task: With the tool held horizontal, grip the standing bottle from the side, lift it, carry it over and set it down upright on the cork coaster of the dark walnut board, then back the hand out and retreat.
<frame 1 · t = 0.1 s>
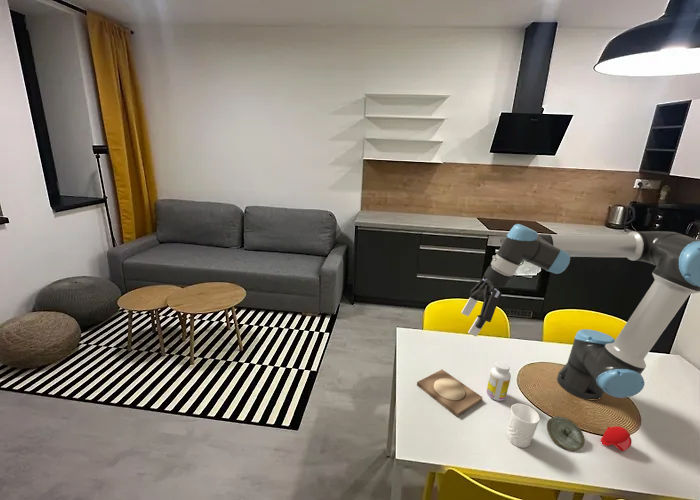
hand: (468, 323, 118), 28 cm above the table, tool tilted 20°, fingers open, 13 cm apart
lid: (563, 439, 110), on the table
walnut board: (448, 392, 126), on the table
white cup: (517, 439, 108), on the table
supplement bottle: (495, 395, 126), on the table
cap: (613, 445, 109), on the table
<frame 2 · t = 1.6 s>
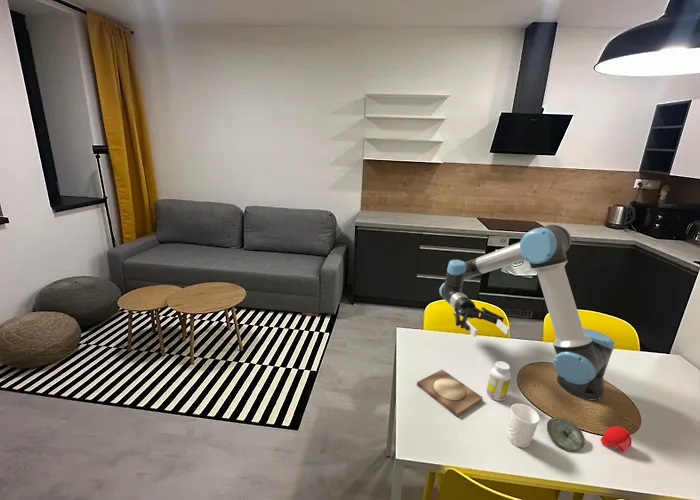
hand: (492, 332, 128), 20 cm above the table, tool horizontal, fingers open, 13 cm apart
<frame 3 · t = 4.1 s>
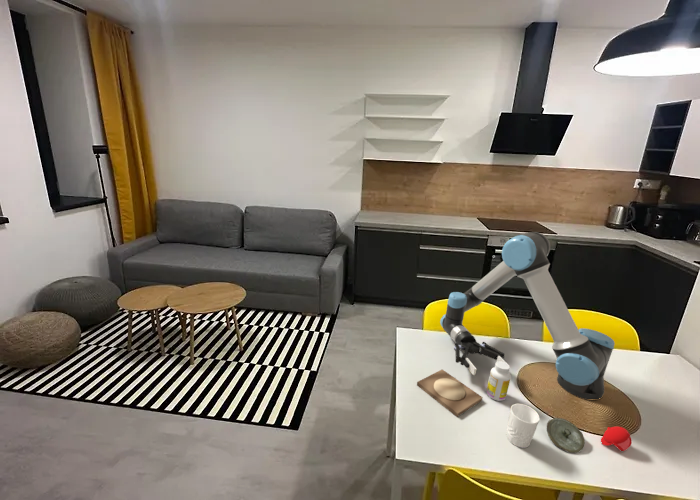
hand: (491, 370, 128), 7 cm above the table, tool horizontal, fingers open, 13 cm apart
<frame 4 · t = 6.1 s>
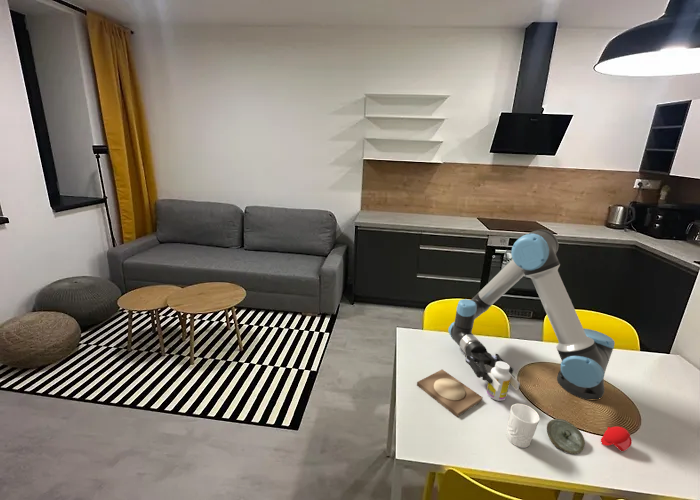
hand: (508, 387, 119), 8 cm above the table, tool horizontal, fingers closed on supplement bottle, 7 cm apart
supplement bottle: (495, 395, 126), on the table, touching gripper
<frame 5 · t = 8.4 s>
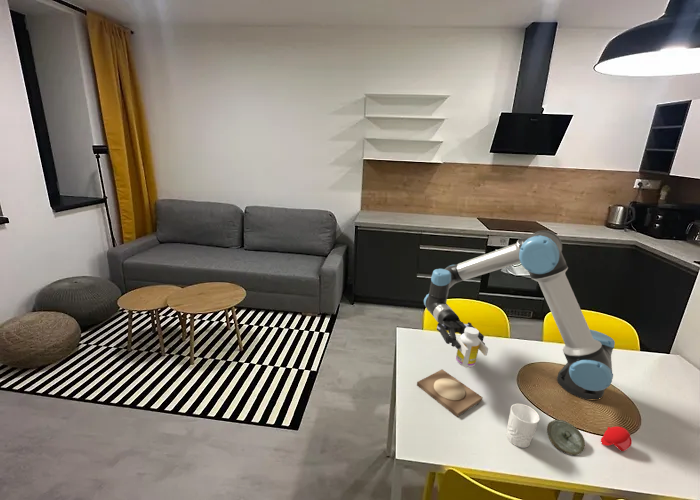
hand: (476, 352, 116), 20 cm above the table, tool horizontal, fingers closed on supplement bottle, 7 cm apart
supplement bottle: (465, 362, 123), point 12 cm above the table, touching gripper
when the fingers open (11 cm above the table, at t = 10.6 s): supplement bottle drops 1 cm, resting on walnut board.
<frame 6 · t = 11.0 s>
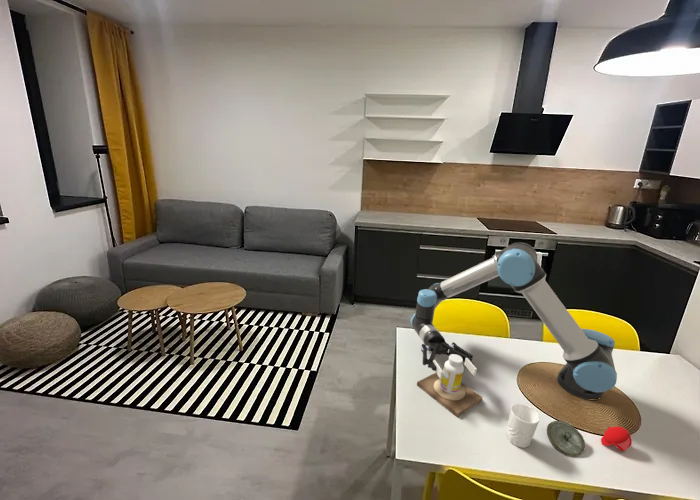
hand: (458, 374, 119), 11 cm above the table, tool horizontal, fingers open, 12 cm apart
supplement bottle: (449, 388, 125), point 2 cm above the table, touching walnut board
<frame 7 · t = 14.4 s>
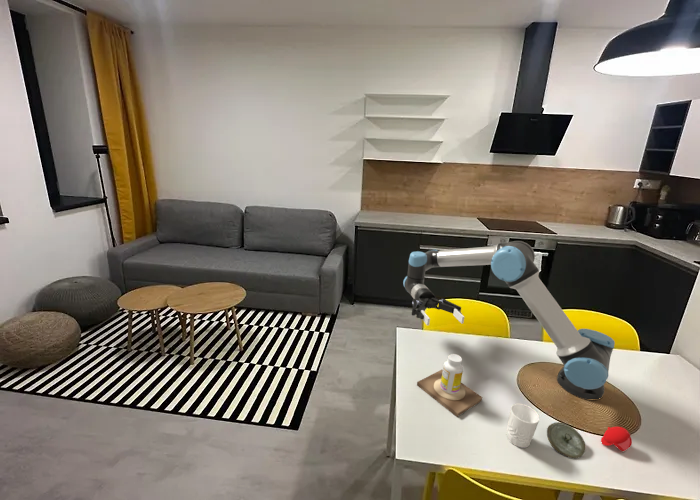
hand: (445, 321, 128), 24 cm above the table, tool horizontal, fingers open, 13 cm apart
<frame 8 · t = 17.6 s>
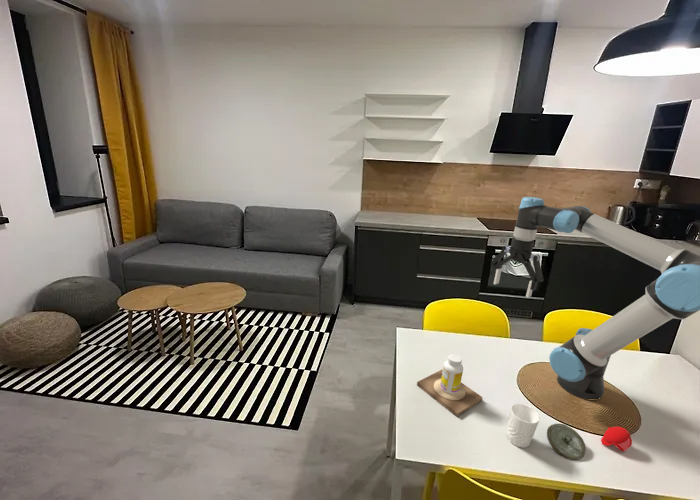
hand: (511, 289, 138), 32 cm above the table, tool pointing down, fingers open, 13 cm apart
at the end: supplement bottle 0.1 cm from the walnut board (horizontally); supplement bottle tilted 0°; supplement bottle touching walnut board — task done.
